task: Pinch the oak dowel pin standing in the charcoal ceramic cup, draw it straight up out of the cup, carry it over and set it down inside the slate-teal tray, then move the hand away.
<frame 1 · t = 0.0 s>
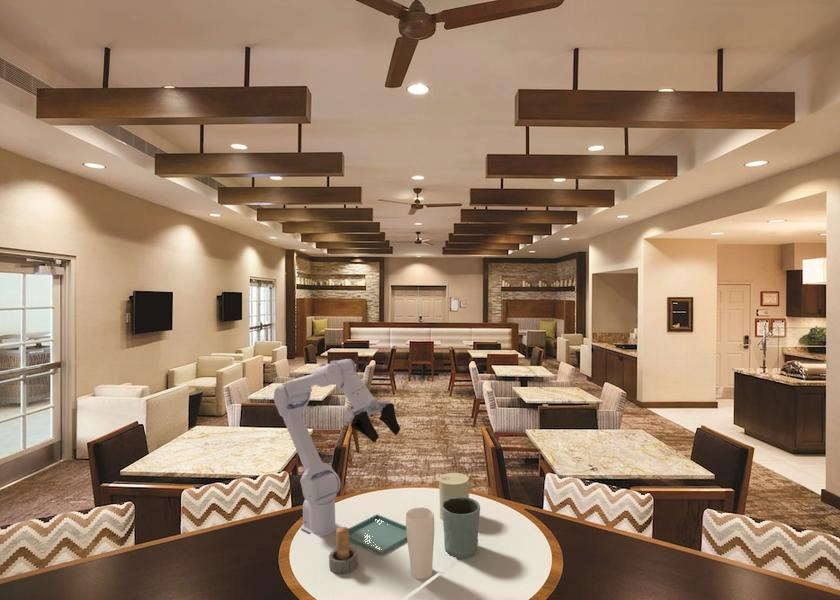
hand: (387, 435, 122), 32 cm above the table, tool tilted 50°, fingers open, 7 cm apart
drinking glass 2: (421, 575, 118), on the table
grey-green cylindrical piece: (462, 550, 128), on the table
pin: (343, 565, 121), point 1 cm above the table, touching cup
cup: (343, 568, 121), on the table
can: (454, 516, 147), on the table
tray: (378, 537, 136), on the table
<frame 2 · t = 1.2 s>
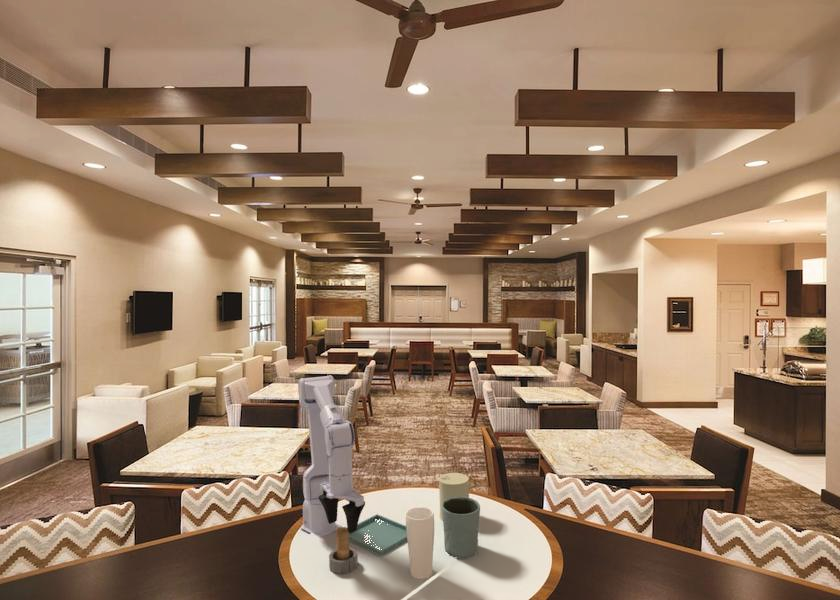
hand: (342, 526, 121), 10 cm above the table, tool pointing down, fingers open, 7 cm apart
nothing on the table moved.
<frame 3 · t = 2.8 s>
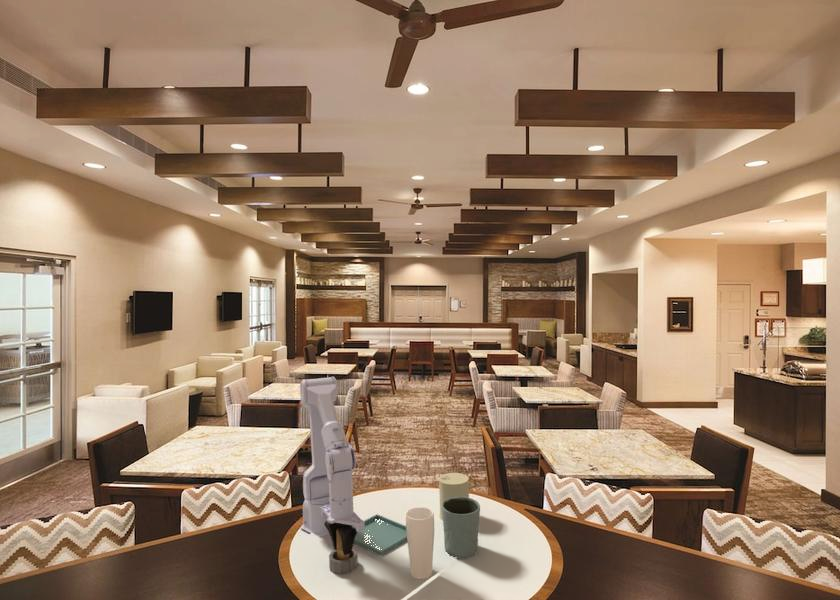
hand: (343, 550, 121), 4 cm above the table, tool pointing down, fingers closed on pin, 3 cm apart
pin: (343, 565, 121), point 1 cm above the table, touching cup, gripper
everything else where it was.
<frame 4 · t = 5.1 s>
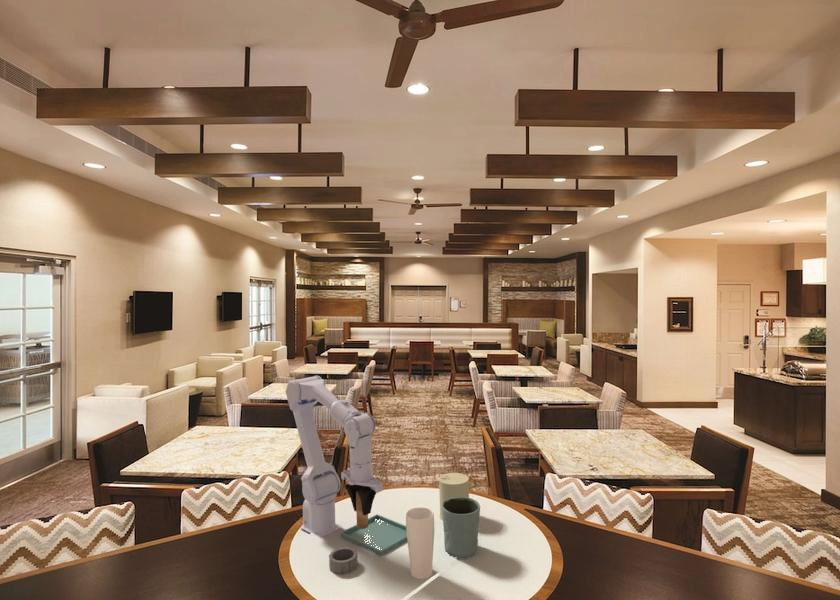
hand: (362, 511, 129), 10 cm above the table, tool pointing down, fingers closed on pin, 3 cm apart
pin: (362, 526, 129), point 7 cm above the table, touching gripper
everything else where it was.
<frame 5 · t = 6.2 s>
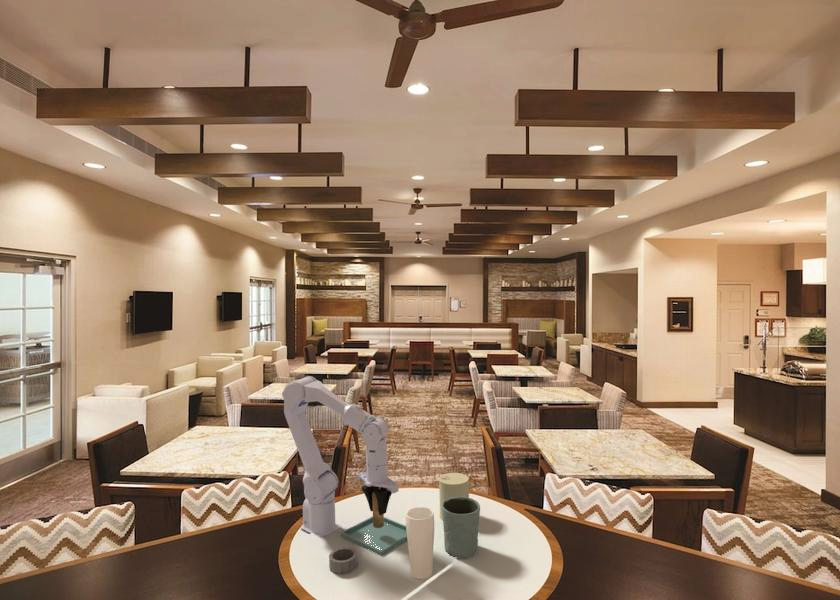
hand: (378, 511, 136), 7 cm above the table, tool pointing down, fingers closed on pin, 3 cm apart
pin: (378, 525, 136), point 3 cm above the table, touching gripper
everything else where it was.
when the fingers open (6 cm above the table, at t = 7.1 s): pin drops 1 cm, resting on tray.
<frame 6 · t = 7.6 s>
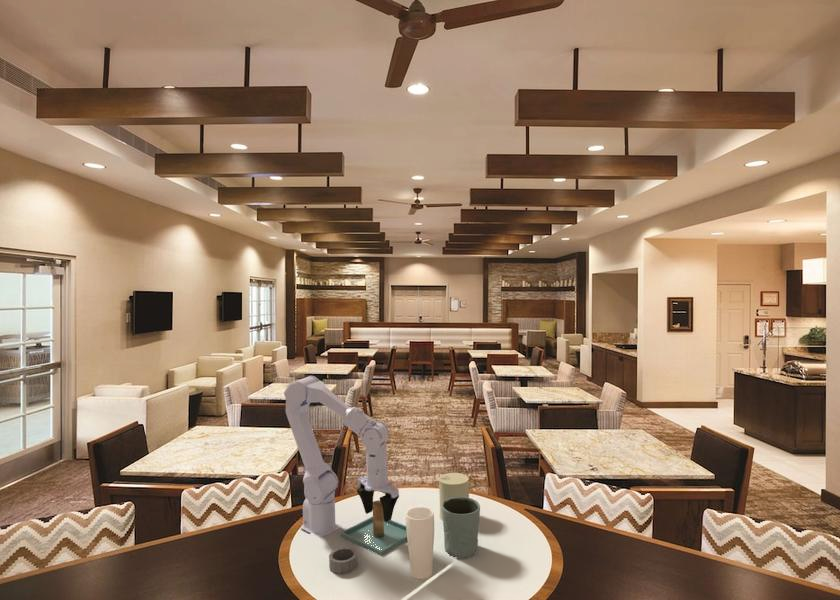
hand: (378, 516, 136), 6 cm above the table, tool pointing down, fingers open, 7 cm apart
pin: (378, 535, 136), point 1 cm above the table, touching tray
everything else where it was.
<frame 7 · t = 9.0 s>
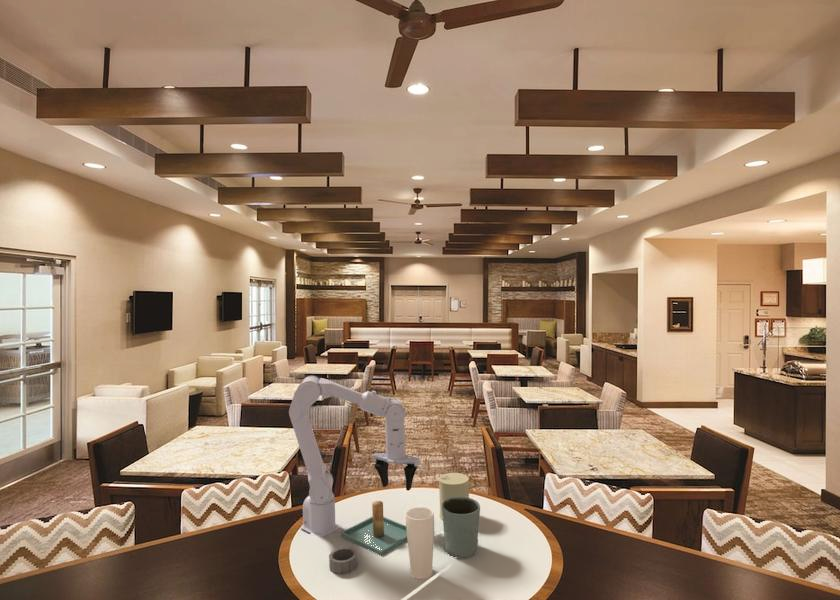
hand: (397, 487, 144), 11 cm above the table, tool pointing down, fingers open, 7 cm apart
nothing on the table moved.
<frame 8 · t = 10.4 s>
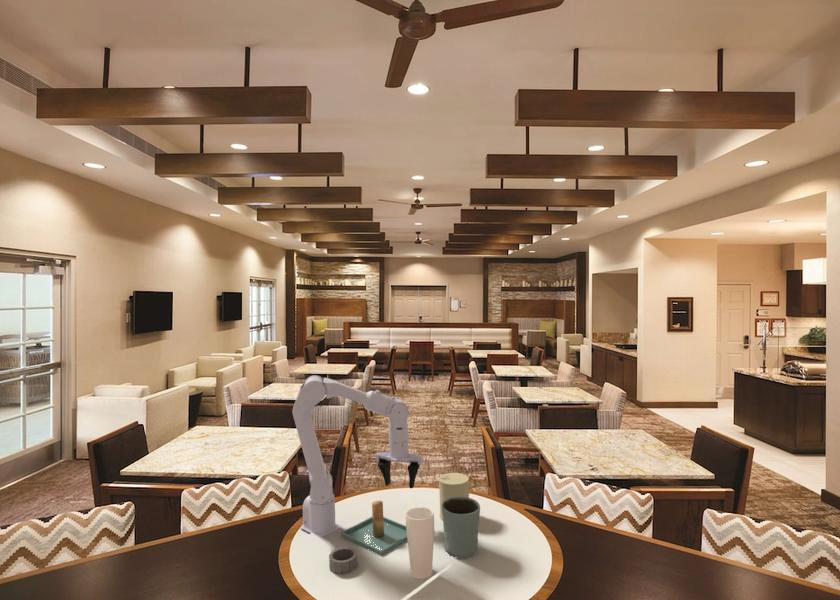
hand: (399, 485, 145), 10 cm above the table, tool pointing down, fingers open, 7 cm apart
nothing on the table moved.
at the end: pin inside the target area on the tray (0.1 cm from its centre), point 0.6 cm above the tray's base; the gripper is holding nothing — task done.
